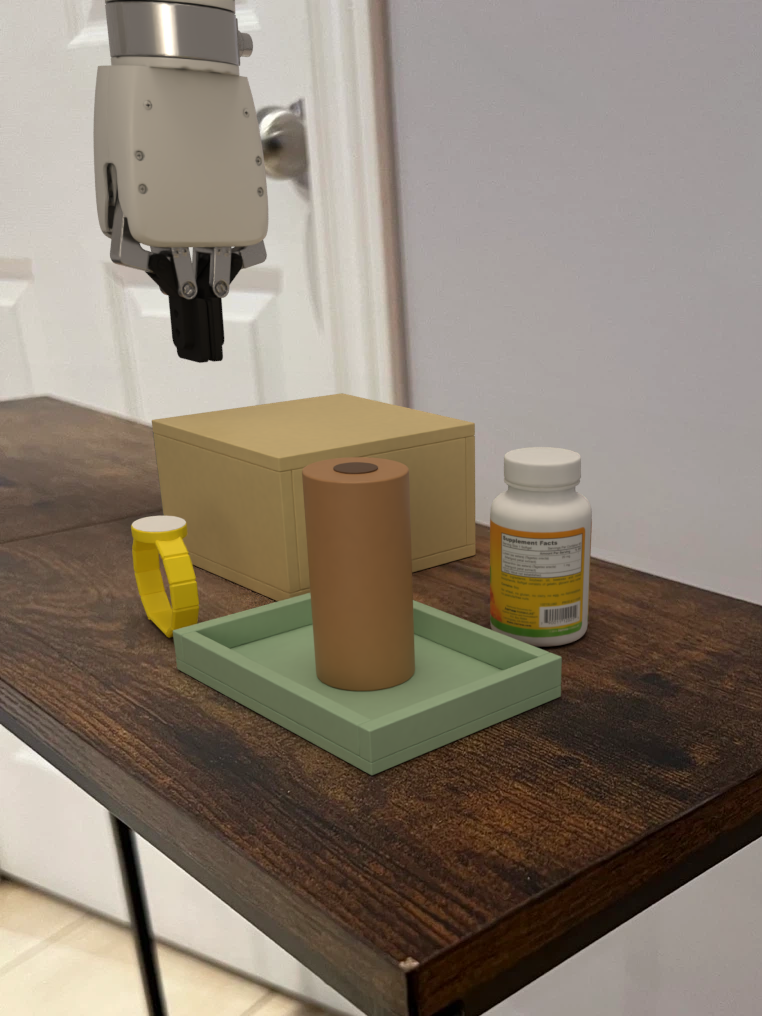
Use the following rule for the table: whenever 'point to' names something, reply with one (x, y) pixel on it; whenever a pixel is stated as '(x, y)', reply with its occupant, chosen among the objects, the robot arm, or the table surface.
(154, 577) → the watch
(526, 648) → the tray
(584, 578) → the supplement bottle
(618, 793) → the table surface
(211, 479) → the cabinet
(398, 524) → the paper roll
